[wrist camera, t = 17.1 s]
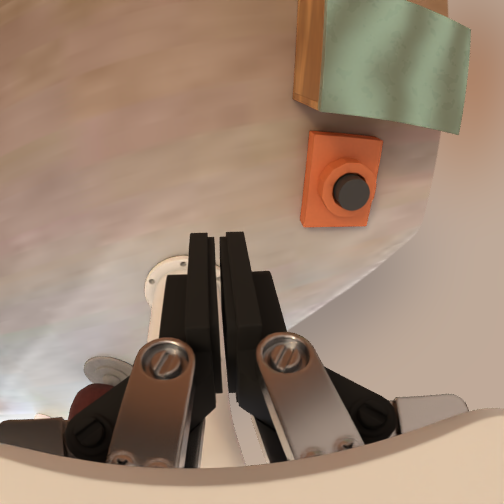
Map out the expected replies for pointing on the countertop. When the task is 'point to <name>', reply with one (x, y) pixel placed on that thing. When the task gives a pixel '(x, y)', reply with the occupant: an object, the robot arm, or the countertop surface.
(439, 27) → the green box lid
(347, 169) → the button block
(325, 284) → the countertop surface
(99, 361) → the mate gourd
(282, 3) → the countertop surface
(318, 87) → the wooden box
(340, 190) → the button
